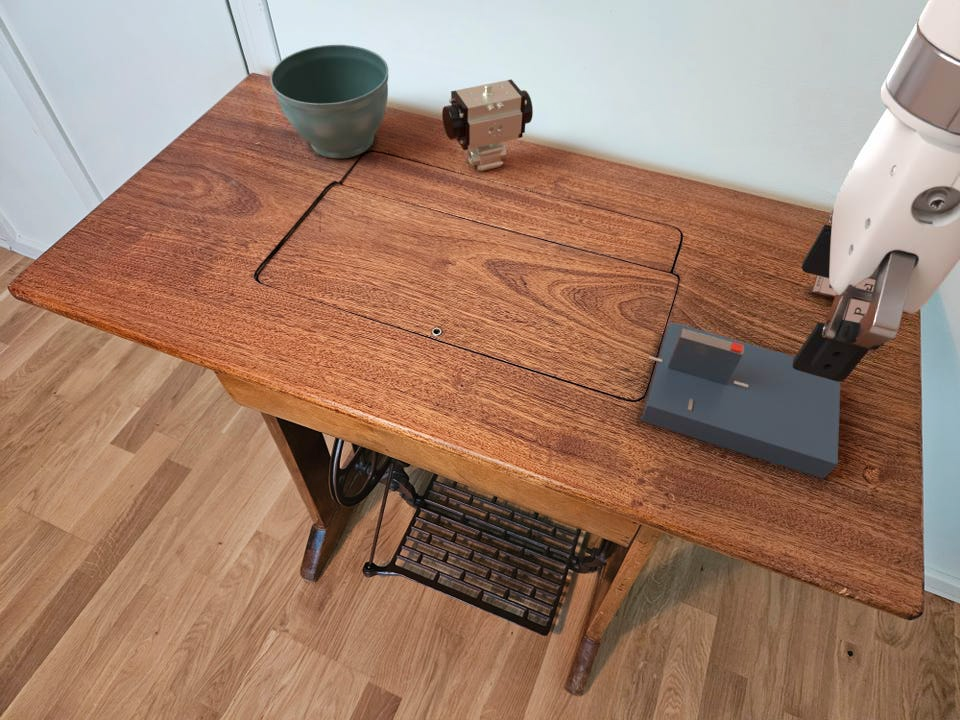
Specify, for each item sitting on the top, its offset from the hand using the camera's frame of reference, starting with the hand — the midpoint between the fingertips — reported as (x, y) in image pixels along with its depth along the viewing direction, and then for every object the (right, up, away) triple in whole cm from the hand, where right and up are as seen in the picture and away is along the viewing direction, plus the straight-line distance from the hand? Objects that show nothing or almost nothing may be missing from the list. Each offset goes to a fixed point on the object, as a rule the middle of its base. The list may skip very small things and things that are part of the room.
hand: (819, 320), depth 43 cm
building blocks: (+19, +4, +32) cm, 38 cm away
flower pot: (-45, +30, +51) cm, 75 cm away
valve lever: (-1, -4, +21) cm, 22 cm away
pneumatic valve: (-22, +26, +48) cm, 59 cm away
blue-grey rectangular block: (+4, -7, +23) cm, 24 cm away
